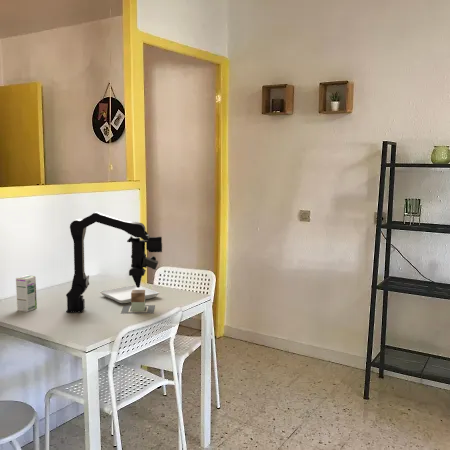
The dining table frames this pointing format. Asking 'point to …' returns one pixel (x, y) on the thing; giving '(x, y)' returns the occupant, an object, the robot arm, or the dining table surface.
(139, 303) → the sage block
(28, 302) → the syrup box
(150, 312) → the mat
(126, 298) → the salad plate
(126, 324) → the dining table surface
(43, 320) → the dining table surface
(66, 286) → the dining table surface
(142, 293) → the walnut block
